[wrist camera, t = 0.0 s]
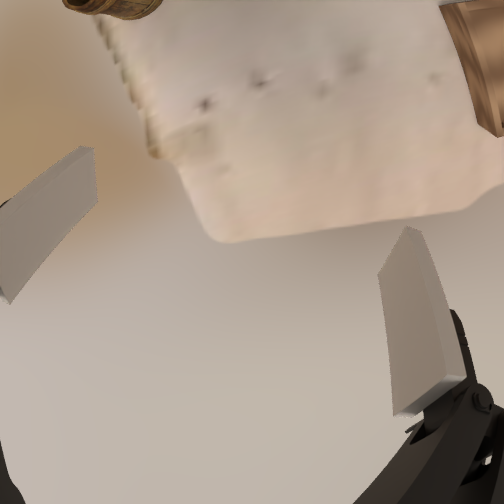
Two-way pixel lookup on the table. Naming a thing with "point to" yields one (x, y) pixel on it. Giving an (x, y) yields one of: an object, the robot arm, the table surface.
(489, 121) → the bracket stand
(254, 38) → the table surface
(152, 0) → the wooden mug
